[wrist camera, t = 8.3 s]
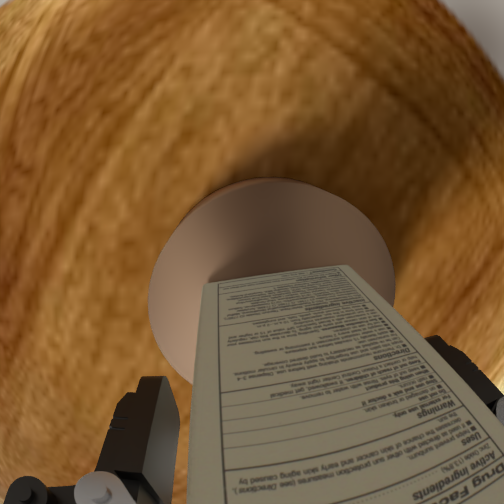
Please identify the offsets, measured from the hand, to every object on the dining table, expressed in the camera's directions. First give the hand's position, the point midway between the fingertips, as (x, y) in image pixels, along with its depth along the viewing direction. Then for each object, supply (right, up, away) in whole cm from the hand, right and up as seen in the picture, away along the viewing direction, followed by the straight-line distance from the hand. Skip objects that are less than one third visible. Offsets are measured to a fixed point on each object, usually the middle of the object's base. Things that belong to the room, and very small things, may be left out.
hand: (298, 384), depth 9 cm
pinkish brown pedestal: (-1, +2, +7) cm, 7 cm away
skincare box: (0, +1, +4) cm, 5 cm away
